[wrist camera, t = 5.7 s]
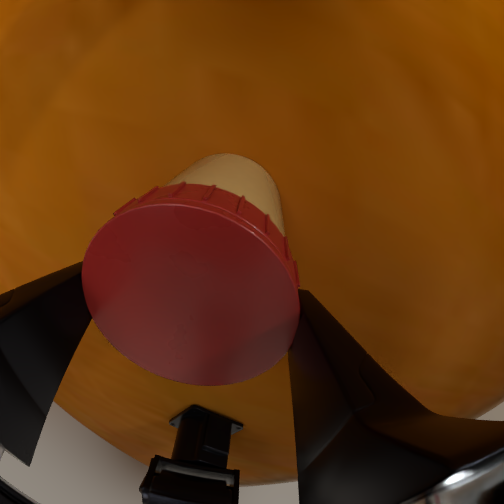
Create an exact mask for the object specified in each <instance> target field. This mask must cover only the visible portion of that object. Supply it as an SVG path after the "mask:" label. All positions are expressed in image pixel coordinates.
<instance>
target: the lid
mask: <svg viewBox="0 0 504 504" xmlns="http://www.w3.org/2000/svg"><path fill="white" fill-rule="evenodd" d="M245 198H246V197H245V196H243V195H242V197H240V196H238V195H236V194H234V193H232V192H229V191H226V190H223V189H220V188H217V187H216V185H214V184H213V185H212V186H208V185H202V184H186V181H183V182H181V183H180V184H175V185H169V186H165V187H161V188H158V186H156V187H154V188H153V189H151V190H150V191H149V192H147V193H146V194H144V195H143V196H141V197H139V198H138V199H135V198H133V199H132V200H131V201H129V202H128V203H126V204H125V205H124V206H122V207H121V208H120V209H118V210H117V211H116V212H115V213H113V215H114V217H113V218H112V219H110V220H109V221H108V222H107V223H106V224H105V225H104V226H103V227H102V228H100V229H99V230H98V232H97V233H96V235H95V236H94V237H93V239H92V240H91V242H90V244H89V246H88V248H87V250H86V253H85V257H84V260H83V266H82V287H83V291H84V296H85V300H86V303H87V307H88V310H89V312H90V314H91V316H92V318H93V320H94V322H95V323H96V325H97V327H98V328H99V329H100V331H101V332H102V333H103V335H104V336H105V337H106V338H107V340H108V341H109V342H110V343H111V344H112V345H113V346H114V347H115V348H116V349H117V350H118V351H119V352H121V353H122V354H123V355H124V356H126V357H127V358H128V359H130V360H131V361H133V362H134V363H136V364H137V365H139V366H140V367H142V368H144V369H146V370H148V371H150V372H152V373H154V374H157V375H159V376H161V377H164V378H167V379H170V380H173V381H178V382H182V383H187V384H193V385H205V386H215V385H227V384H233V383H237V382H242V381H245V380H248V379H251V378H253V377H255V376H257V375H260V374H262V373H263V372H265V371H267V370H268V369H270V368H271V367H272V366H274V365H275V364H276V363H277V362H278V361H280V359H281V358H282V357H283V356H284V355H285V354H286V353H287V351H288V350H289V348H290V346H291V345H292V342H293V339H294V336H295V333H296V330H297V327H298V323H299V320H300V303H299V296H298V287H300V282H299V275H298V269H297V263H296V261H293V258H292V255H291V252H290V249H289V247H288V240H287V237H286V236H285V237H283V235H282V234H281V232H280V231H279V229H278V228H277V226H276V225H275V224H274V223H273V222H272V221H271V220H270V215H269V214H264V213H263V212H262V211H261V210H260V209H259V208H257V207H256V206H255V205H253V204H252V203H250V202H249V201H247V200H245Z"/></svg>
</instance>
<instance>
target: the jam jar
mask: <svg viewBox="0 0 504 504" xmlns="http://www.w3.org/2000/svg"><path fill="white" fill-rule="evenodd" d="M183 181H186V184H202V185H208V186H212V185H213V184H214V185H216V187H217V188H220V189H223V190H226V191H229V192H232V193H234V194H236V195H238V196H240V197H242V195H243V196H245V197H246V198H245V200H247V201H249V202H250V203H252V204H253V205H255V206H256V207H257V208H259V209H260V210H261V211H262V212H263V213H264V214H269V215H270V220H271V221H272V222H273V223H274V224H275V225H276V226H277V228H278V229H279V231H280V232H281V234H282V235H283V237H285V231H284V224H283V216H282V209H281V202H280V196H279V192H278V189H277V187H276V185H275V183H274V181H273V179H272V178H271V176H270V175H269V174H268V173H267V172H266V171H265V170H264V169H263V168H262V167H261V166H260V165H258V164H257V163H255V162H254V161H252V160H250V159H248V158H245V157H242V156H239V155H234V154H216V155H211V156H208V157H205V158H203V159H201V160H199V161H197V162H195V163H194V164H193V165H191V166H190V167H188V168H187V169H186V170H184V171H183V172H182V173H180V174H179V175H178V176H176V177H175V178H174V179H172V180H171V181H170V182H168V183H167V184H166V185H164V186H163V187H165V186H169V185H175V184H180V183H181V182H183Z"/></svg>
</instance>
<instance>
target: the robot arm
mask: <svg viewBox="0 0 504 504" xmlns="http://www.w3.org/2000/svg"><path fill="white" fill-rule="evenodd" d="M82 266H83V261H82V262H79V263H77V264H74V265H71V266H69V267H66V268H64V269H61V270H59V271H56V272H54V273H51V274H49V275H46V276H44V277H41V278H39V279H36V280H34V281H31V282H29V283H27V284H24V285H22V286H20V287H17V288H15V289H12V290H10V291H8V292H5V293H3V294H1V295H0V460H1V457H2V455H3V453H4V451H7V452H8V453H9V454H11V455H12V456H13V457H15V458H16V459H18V460H19V461H21V462H22V463H24V464H25V465H27V466H30V464H31V461H32V458H33V455H34V451H35V448H36V445H37V442H38V439H39V437H40V434H41V431H42V428H43V425H44V423H45V420H46V416H47V414H48V412H49V409H50V407H51V404H52V402H53V399H54V397H55V395H56V392H57V390H58V387H59V385H60V383H61V381H62V378H63V376H64V374H65V372H66V370H67V367H68V365H69V363H70V361H71V359H72V357H73V355H74V353H75V351H76V349H77V347H78V345H79V343H80V341H81V339H82V337H83V335H84V333H85V331H86V329H87V327H88V325H89V323H90V321H91V319H92V316H91V314H90V312H89V310H88V307H87V303H86V300H85V296H84V291H83V287H82ZM298 296H299V303H300V320H299V323H298V327H297V330H296V333H295V336H294V339H293V342H292V345H291V346H290V348H289V350H288V361H289V371H290V382H291V393H292V404H293V416H294V429H295V442H296V456H297V470H298V488H299V504H504V421H488V420H475V419H465V418H456V417H448V416H442V415H439V414H436V413H434V412H432V411H430V410H428V409H427V408H426V407H424V406H423V405H422V404H421V403H420V402H419V401H418V400H416V399H415V398H414V397H413V396H412V395H411V394H410V393H408V392H407V391H406V390H405V389H404V388H403V387H402V386H401V385H399V384H398V383H397V382H396V381H395V380H394V379H393V378H392V377H391V376H390V375H389V374H387V373H386V372H385V371H384V370H383V369H382V368H381V367H380V366H379V365H378V363H377V362H376V361H375V360H374V359H373V358H372V357H371V356H370V355H369V354H367V352H366V351H365V350H364V349H363V348H362V347H361V345H360V344H359V343H358V342H357V341H356V340H355V339H354V338H353V337H352V336H351V335H350V334H349V333H348V332H347V331H346V330H345V328H344V327H343V326H342V325H341V324H340V323H339V322H338V321H337V320H336V319H335V318H334V317H333V316H332V315H331V314H330V313H329V312H328V310H327V309H326V308H325V307H324V306H323V305H322V304H321V303H320V302H319V301H318V300H317V299H316V298H315V297H314V296H313V295H312V294H311V293H310V292H309V291H308V290H302V289H298ZM169 424H170V425H172V426H174V427H176V428H178V431H177V435H176V440H175V444H174V448H173V452H172V457H171V459H169V458H165V457H161V456H160V455H155V457H154V458H152V459H151V462H150V466H149V470H148V472H147V474H146V476H145V478H144V480H143V481H142V483H141V485H140V488H139V491H140V492H141V494H142V502H143V504H238V499H239V475H240V470H237V469H234V470H230V469H226V468H227V460H228V454H229V448H230V439H231V435H232V434H234V433H236V432H238V431H240V430H242V429H243V424H241V423H238V422H236V421H233V420H230V419H228V418H225V417H223V416H220V415H218V414H216V413H213V412H211V411H208V410H206V409H204V408H202V407H199V406H197V405H191V406H190V407H189V408H187V409H186V410H184V411H183V412H181V413H180V414H178V415H177V416H175V417H174V418H172V419H171V420H170V421H169ZM227 484H230V486H226V485H227ZM0 504H40V503H38V502H36V501H35V500H33V499H32V498H30V497H29V496H27V495H26V494H24V493H23V492H21V491H19V490H18V489H17V488H15V487H14V486H13V485H11V484H9V482H7V481H6V480H5V479H3V478H2V477H1V476H0Z"/></svg>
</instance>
